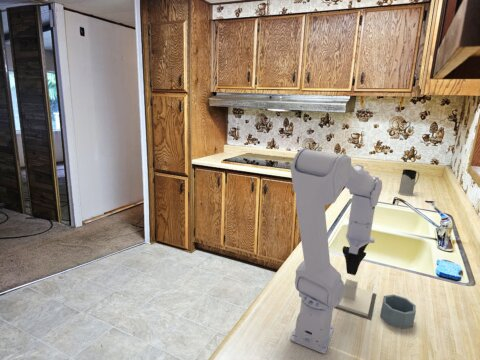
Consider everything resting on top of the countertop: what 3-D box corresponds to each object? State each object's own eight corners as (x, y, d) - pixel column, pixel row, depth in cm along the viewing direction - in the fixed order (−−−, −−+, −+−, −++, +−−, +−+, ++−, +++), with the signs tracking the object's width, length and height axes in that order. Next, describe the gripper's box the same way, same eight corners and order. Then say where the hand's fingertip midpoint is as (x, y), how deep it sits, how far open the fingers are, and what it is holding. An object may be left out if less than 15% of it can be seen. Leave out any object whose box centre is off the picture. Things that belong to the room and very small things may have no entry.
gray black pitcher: (394, 192, 199) (398, 169, 196) (409, 190, 206) (413, 168, 202) (407, 196, 192) (411, 172, 188) (422, 194, 198) (426, 171, 194)
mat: (371, 321, 79) (371, 320, 79) (319, 304, 85) (319, 303, 85) (376, 295, 90) (376, 294, 90) (330, 281, 96) (330, 280, 96)
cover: (367, 316, 80) (370, 300, 79) (324, 302, 85) (326, 286, 84) (372, 294, 90) (375, 279, 89) (333, 283, 95) (335, 268, 94)
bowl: (412, 333, 76) (415, 317, 75) (379, 322, 79) (381, 306, 78) (412, 316, 82) (415, 300, 81) (381, 306, 85) (384, 291, 84)
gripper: (374, 233, 74) (365, 284, 77) (379, 215, 86) (372, 260, 90) (343, 226, 77) (336, 276, 80) (353, 210, 90) (346, 253, 93)
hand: (353, 267), depth 85 cm, fingers open, 7 cm apart
